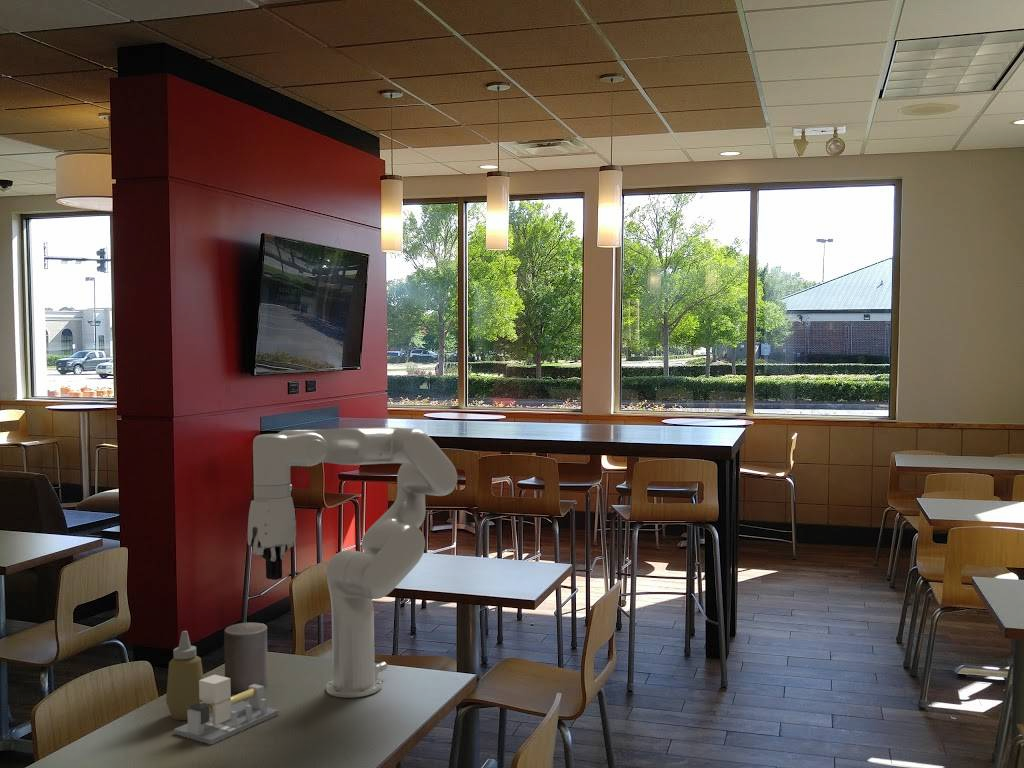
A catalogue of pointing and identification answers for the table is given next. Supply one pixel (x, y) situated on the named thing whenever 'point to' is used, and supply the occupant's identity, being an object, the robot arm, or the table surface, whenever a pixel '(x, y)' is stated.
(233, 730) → the gray assembly board
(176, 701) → the squeeze bottle
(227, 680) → the white block
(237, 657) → the pillar candle
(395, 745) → the table surface
